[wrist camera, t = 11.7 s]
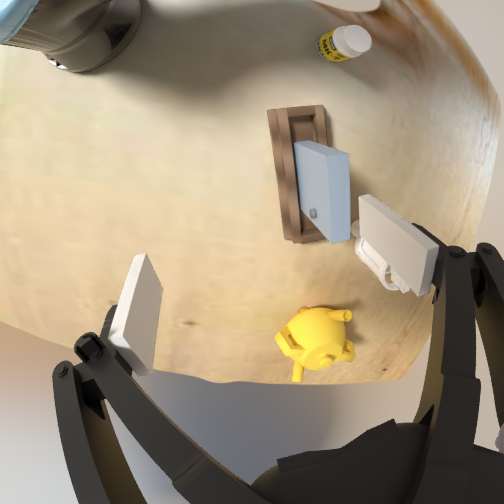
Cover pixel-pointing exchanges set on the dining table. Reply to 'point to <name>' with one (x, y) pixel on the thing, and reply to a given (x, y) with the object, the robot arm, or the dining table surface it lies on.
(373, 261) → the strainer
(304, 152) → the door panel
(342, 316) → the teapot
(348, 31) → the supplement bottle
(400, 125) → the dining table surface
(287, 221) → the track
